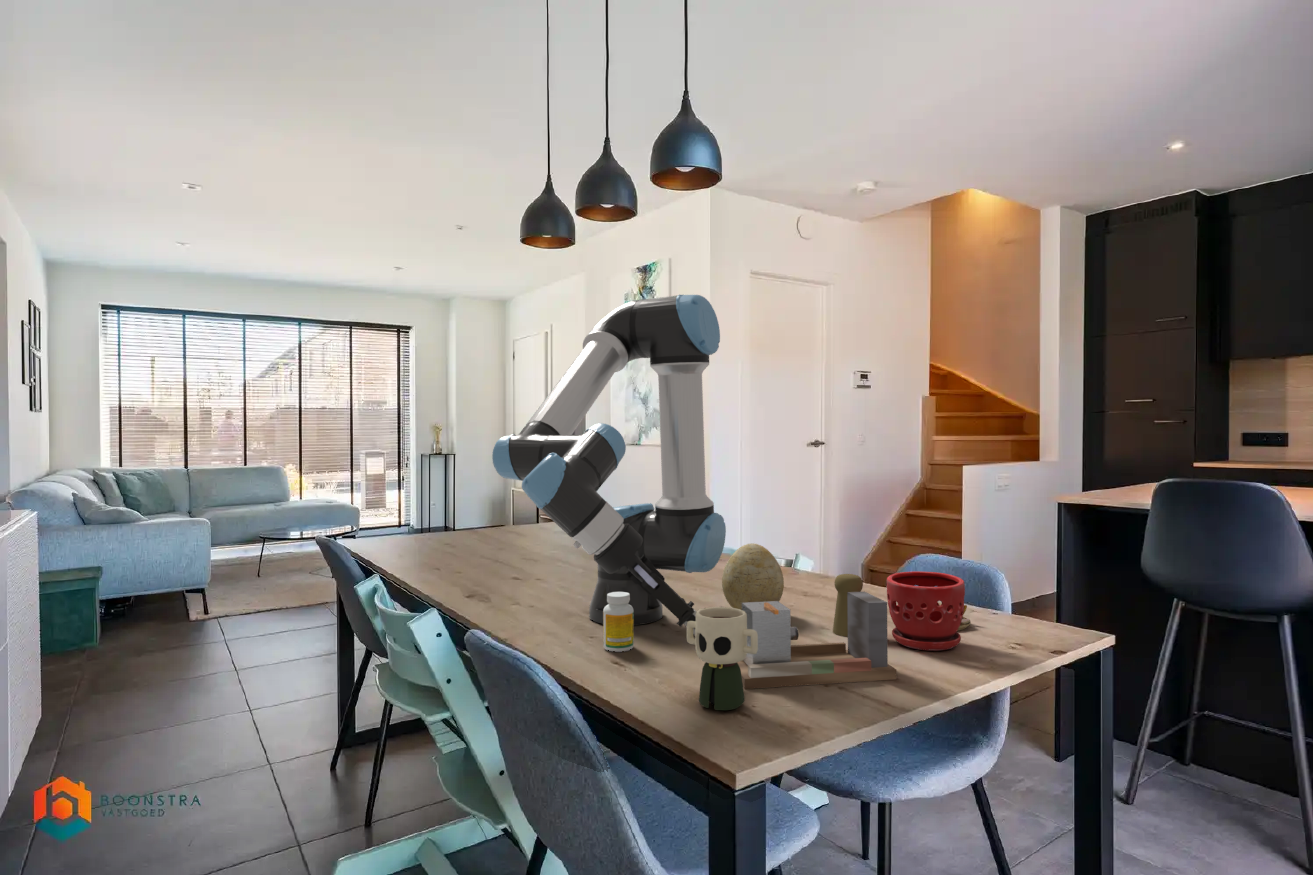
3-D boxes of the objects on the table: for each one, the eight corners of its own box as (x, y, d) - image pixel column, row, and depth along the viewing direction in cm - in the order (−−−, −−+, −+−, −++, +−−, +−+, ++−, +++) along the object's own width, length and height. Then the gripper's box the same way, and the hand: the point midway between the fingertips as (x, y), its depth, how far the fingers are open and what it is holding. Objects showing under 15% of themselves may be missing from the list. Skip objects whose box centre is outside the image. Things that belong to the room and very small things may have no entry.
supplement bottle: (598, 646, 133) (598, 592, 132) (626, 642, 135) (626, 589, 135) (610, 654, 128) (610, 598, 128) (638, 649, 130) (638, 595, 130)
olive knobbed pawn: (866, 637, 137) (866, 578, 137) (833, 636, 138) (832, 577, 138) (864, 629, 143) (863, 572, 143) (832, 627, 144) (831, 571, 144)
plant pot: (878, 634, 139) (878, 570, 139) (949, 634, 138) (949, 570, 138) (899, 655, 126) (898, 584, 126) (977, 655, 125) (977, 584, 125)
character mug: (674, 706, 103) (674, 613, 103) (699, 691, 109) (698, 602, 109) (746, 722, 97) (746, 623, 97) (768, 705, 103) (767, 611, 103)
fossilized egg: (766, 606, 162) (766, 537, 162) (795, 620, 150) (794, 546, 150) (712, 611, 158) (712, 541, 158) (737, 625, 146) (737, 549, 146)
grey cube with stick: (741, 658, 118) (741, 598, 118) (789, 656, 120) (789, 596, 120) (757, 675, 110) (757, 611, 110) (808, 672, 111) (808, 608, 111)
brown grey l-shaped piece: (725, 666, 121) (725, 595, 120) (865, 657, 124) (864, 589, 124) (744, 689, 110) (744, 611, 110) (896, 679, 114) (896, 604, 113)
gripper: (588, 550, 118) (691, 649, 121) (594, 564, 105) (710, 675, 108) (621, 516, 119) (723, 615, 121) (631, 526, 106) (745, 637, 109)
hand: (717, 643), depth 115 cm, fingers closed
